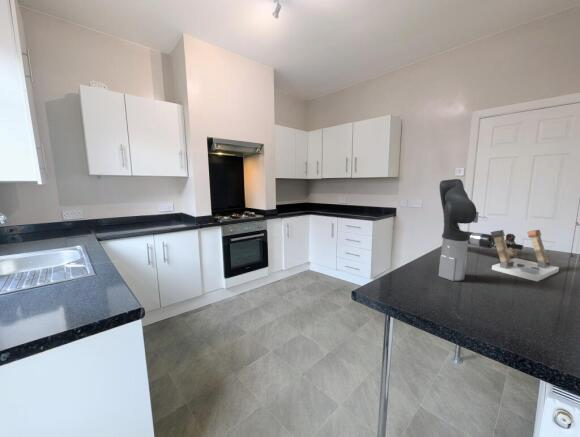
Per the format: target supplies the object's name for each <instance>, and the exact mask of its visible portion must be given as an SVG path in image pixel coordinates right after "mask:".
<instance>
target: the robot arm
mask: <svg viewBox="0 0 580 437" xmlns="http://www.w3.org/2000/svg"><path fill="white" fill-rule="evenodd" d="M439 196H440V201H441V202H440V203H441V208H442V214H443V233H442V234H441V238H442V243H441V253H440V257H439V268H438V277H440V278H443V279H446V280H449V281H452V282H453V281H456V282H457V281H464V280H465V274H466V266H467V258H468V257H467V256H468V250H469V249H468V247H469V245H472V246H476V247H479V248H486V249H489V250H491V249H492V248H496V244H495V241H494V238H492V235H491V234H489V233H482V232H481V233H480V232H472V231H464V230H461V228H460V225H459V224H463V225H465V224H467V225H468V224H471V223H473V222H474V221H475V220H476V218H477V207H476V205H475V203H474V202H473V201H472V200H471V198H469V196H468V193H467V192H466V190H465V186H464V183H463V181H462V180H461V179H459V178H454V179H445V180H443V179H442V180H441V181H440V183H439ZM505 242H506V245H507V248H514V249H517V250H519V251H521V250H523V249H524V245H523V244H518V243H516V244H514V242H511V241H508V240H506V239H505ZM496 249H497V248H496Z"/></svg>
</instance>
